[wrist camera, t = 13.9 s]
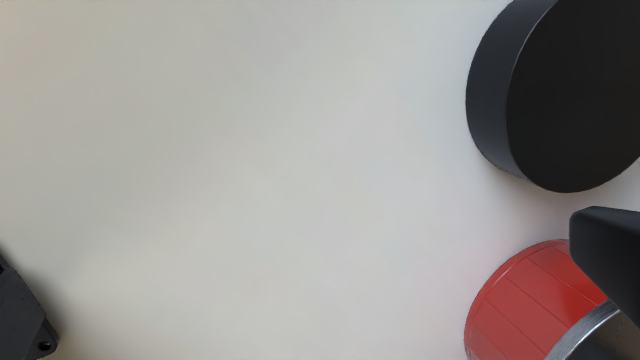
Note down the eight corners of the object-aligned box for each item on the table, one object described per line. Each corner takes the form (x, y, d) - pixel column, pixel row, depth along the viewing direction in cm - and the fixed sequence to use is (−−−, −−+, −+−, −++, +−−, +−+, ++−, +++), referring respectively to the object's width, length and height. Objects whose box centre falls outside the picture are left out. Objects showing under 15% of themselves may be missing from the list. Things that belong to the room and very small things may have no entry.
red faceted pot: (475, 405, 29) (540, 492, 24) (451, 281, 25) (523, 352, 19) (606, 339, 31) (694, 406, 25) (605, 212, 26) (711, 260, 21)
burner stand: (478, 200, 23) (515, 223, 21) (450, 14, 19) (492, 12, 17) (625, 138, 25) (678, 151, 22) (627, -47, 21) (692, -58, 18)
